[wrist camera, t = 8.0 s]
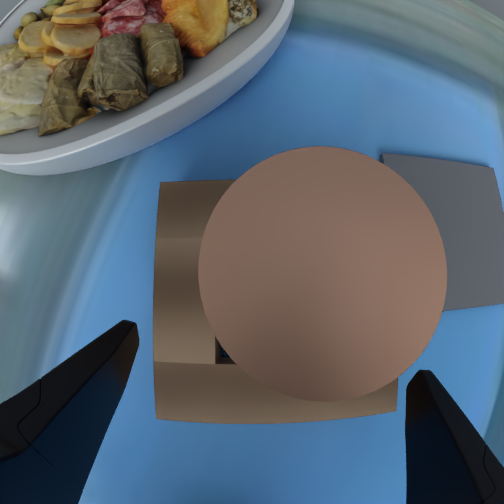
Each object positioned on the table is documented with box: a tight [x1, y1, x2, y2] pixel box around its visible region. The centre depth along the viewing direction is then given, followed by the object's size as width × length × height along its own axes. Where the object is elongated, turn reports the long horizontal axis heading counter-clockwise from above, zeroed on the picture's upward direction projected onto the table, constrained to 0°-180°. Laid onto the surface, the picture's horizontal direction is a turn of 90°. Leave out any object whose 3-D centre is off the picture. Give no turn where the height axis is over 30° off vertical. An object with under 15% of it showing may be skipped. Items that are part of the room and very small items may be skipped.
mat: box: [380, 153, 504, 311], centre depth 18 cm, size 10×10×1 cm
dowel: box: [198, 146, 447, 402], centre depth 11 cm, size 4×4×13 cm
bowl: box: [0, 0, 295, 175], centre depth 18 cm, size 30×30×8 cm
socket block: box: [153, 180, 398, 424], centre depth 16 cm, size 12×12×2 cm
